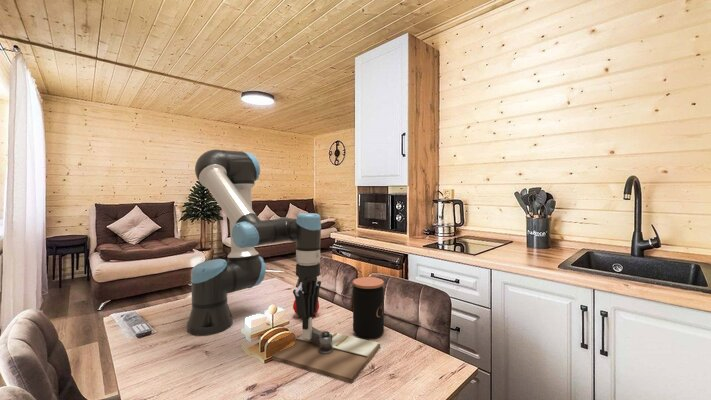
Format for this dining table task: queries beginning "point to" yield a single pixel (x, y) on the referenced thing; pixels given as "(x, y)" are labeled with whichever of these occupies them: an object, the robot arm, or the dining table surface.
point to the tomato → (296, 308)
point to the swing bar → (322, 339)
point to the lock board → (330, 356)
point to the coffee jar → (368, 307)
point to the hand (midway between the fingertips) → (307, 338)
